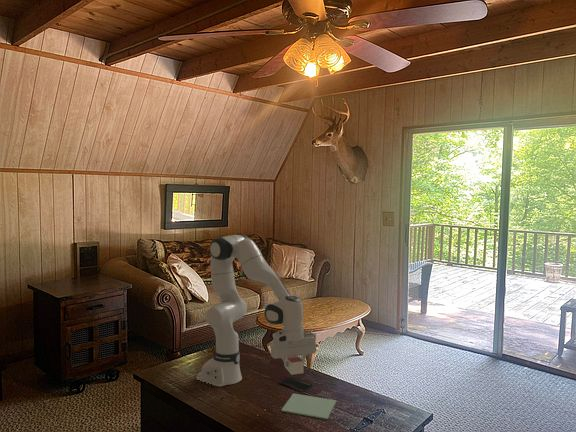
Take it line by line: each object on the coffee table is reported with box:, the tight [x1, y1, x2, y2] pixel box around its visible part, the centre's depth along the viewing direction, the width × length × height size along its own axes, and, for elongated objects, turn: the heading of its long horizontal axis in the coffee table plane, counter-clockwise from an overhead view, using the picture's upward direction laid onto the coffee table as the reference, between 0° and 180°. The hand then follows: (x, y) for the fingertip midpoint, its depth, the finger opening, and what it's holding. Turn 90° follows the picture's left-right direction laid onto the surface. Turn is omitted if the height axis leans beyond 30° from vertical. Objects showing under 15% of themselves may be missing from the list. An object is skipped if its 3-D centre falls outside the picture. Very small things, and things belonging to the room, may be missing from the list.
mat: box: [280, 393, 337, 420], centre depth 186 cm, size 20×16×1 cm
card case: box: [284, 355, 305, 376], centre depth 187 cm, size 9×6×5 cm, turn 18°
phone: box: [279, 376, 313, 393], centre depth 207 cm, size 8×1×15 cm
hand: (293, 365), depth 187 cm, fingers closed on card case, 5 cm apart
